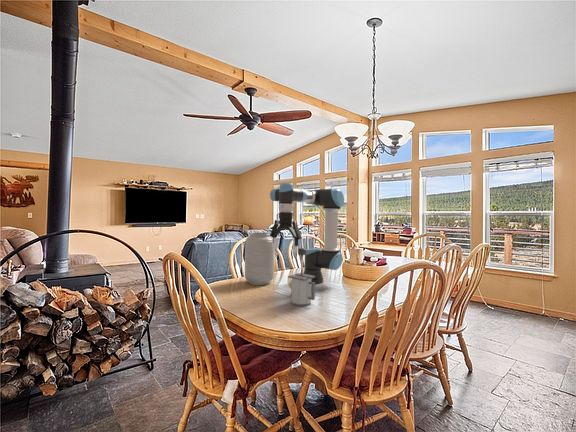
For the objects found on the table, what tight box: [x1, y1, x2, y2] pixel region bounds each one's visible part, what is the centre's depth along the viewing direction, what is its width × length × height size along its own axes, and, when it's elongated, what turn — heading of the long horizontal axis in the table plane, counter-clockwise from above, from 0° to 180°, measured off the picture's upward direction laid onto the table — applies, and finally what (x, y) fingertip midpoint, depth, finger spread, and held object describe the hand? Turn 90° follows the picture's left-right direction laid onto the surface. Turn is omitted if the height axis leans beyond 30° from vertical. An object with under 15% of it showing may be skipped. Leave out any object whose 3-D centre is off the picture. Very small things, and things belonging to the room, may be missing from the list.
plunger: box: [297, 247, 307, 277], centre depth 163 cm, size 7×7×17 cm
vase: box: [244, 232, 276, 286], centre depth 205 cm, size 20×20×34 cm
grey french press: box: [287, 272, 316, 307], centre depth 162 cm, size 11×14×15 cm
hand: (284, 250), depth 165 cm, fingers open, 13 cm apart
